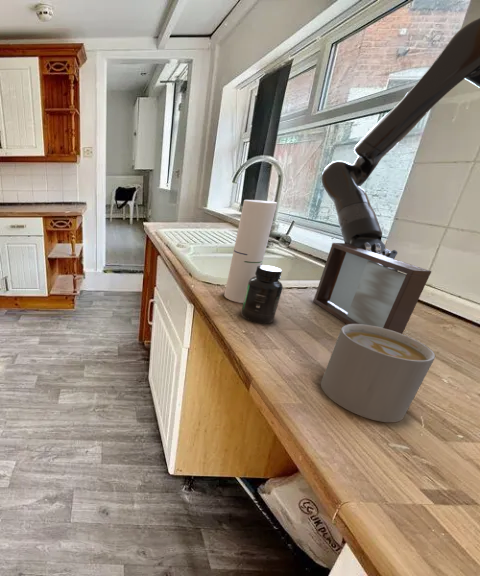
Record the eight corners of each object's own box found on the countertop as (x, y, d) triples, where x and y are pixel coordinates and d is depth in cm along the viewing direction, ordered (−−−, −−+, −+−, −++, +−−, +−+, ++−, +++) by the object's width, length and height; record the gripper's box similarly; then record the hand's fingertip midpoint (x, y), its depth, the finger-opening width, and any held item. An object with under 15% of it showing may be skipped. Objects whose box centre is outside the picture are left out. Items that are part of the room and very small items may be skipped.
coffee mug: (412, 434, 40) (447, 371, 36) (321, 402, 45) (344, 344, 41) (390, 380, 51) (416, 327, 47) (319, 359, 56) (337, 310, 52)
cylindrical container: (230, 290, 87) (250, 199, 77) (257, 298, 82) (281, 202, 73) (219, 296, 82) (239, 200, 73) (247, 305, 77) (271, 203, 68)
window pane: (327, 299, 79) (344, 250, 74) (362, 301, 79) (382, 252, 74) (354, 316, 70) (375, 261, 65) (394, 319, 70) (419, 263, 65)
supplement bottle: (235, 315, 71) (246, 266, 67) (248, 308, 76) (260, 261, 71) (265, 327, 67) (280, 275, 62) (278, 318, 71) (292, 269, 66)
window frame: (312, 301, 81) (332, 242, 76) (325, 302, 81) (345, 243, 75) (379, 346, 61) (413, 270, 55) (396, 347, 61) (431, 271, 55)
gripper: (343, 215, 77) (362, 276, 70) (397, 217, 77) (421, 279, 70) (323, 231, 84) (338, 289, 77) (372, 234, 84) (392, 292, 77)
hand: (378, 284), depth 73 cm, fingers closed
